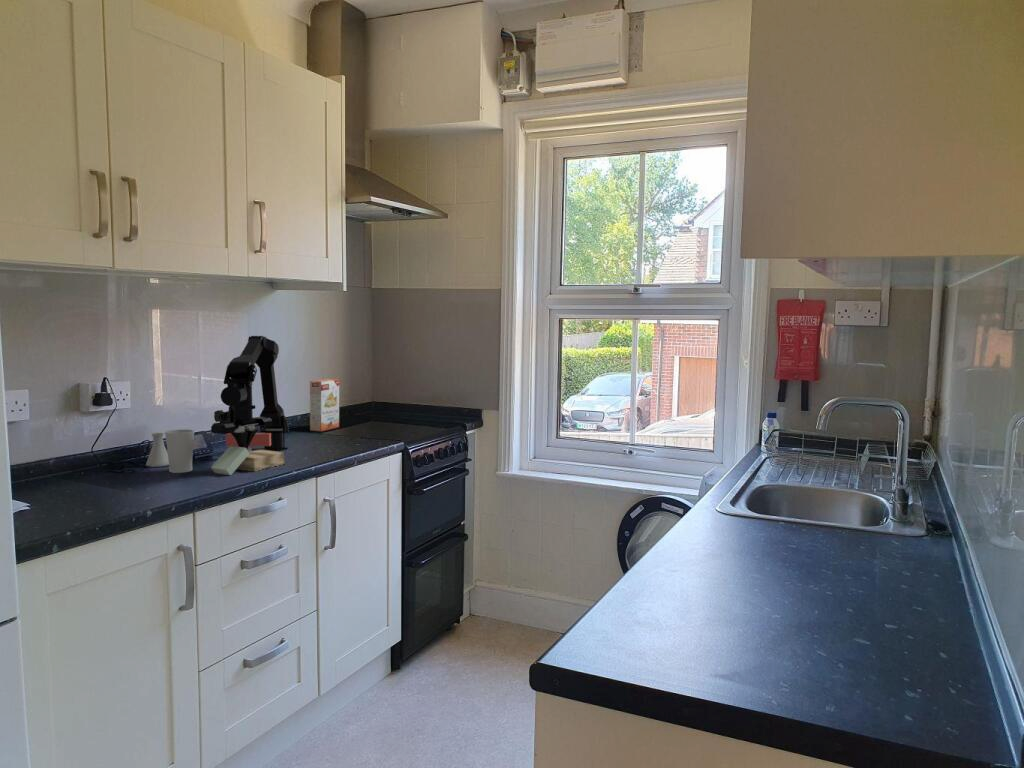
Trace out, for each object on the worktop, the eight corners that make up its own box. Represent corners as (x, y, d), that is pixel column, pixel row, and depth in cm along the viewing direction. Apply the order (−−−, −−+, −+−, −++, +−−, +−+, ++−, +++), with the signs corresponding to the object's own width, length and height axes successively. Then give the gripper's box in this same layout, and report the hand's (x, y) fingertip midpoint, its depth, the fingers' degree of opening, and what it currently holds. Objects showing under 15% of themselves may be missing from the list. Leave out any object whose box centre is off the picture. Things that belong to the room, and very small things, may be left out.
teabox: (261, 461, 227) (261, 449, 227) (284, 464, 223) (284, 452, 222) (230, 468, 217) (230, 455, 216) (254, 471, 212) (254, 458, 212)
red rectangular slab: (226, 455, 231) (225, 434, 231) (228, 454, 233) (227, 433, 233) (269, 455, 232) (269, 434, 232) (271, 454, 234) (270, 433, 234)
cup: (199, 470, 213) (198, 431, 212) (172, 474, 207) (170, 434, 206) (189, 466, 218) (188, 428, 217) (162, 470, 213) (160, 431, 212)
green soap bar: (234, 451, 215) (230, 445, 214) (249, 453, 212) (245, 447, 211) (215, 473, 210) (210, 467, 208) (230, 475, 207) (226, 469, 205)
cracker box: (322, 432, 290) (321, 381, 288) (309, 431, 291) (308, 380, 290) (340, 427, 303) (339, 379, 301) (328, 426, 305) (327, 378, 303)
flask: (176, 463, 224) (175, 432, 223) (163, 467, 217) (162, 435, 216) (154, 462, 224) (153, 431, 224) (140, 467, 217) (139, 435, 216)
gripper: (247, 398, 225) (249, 446, 226) (197, 403, 209) (199, 455, 210) (273, 400, 220) (274, 449, 221) (223, 405, 203) (225, 459, 205)
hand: (243, 453), depth 214 cm, fingers closed
